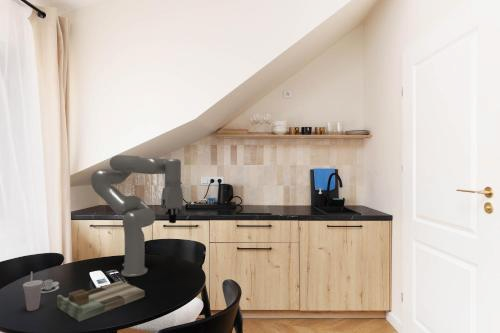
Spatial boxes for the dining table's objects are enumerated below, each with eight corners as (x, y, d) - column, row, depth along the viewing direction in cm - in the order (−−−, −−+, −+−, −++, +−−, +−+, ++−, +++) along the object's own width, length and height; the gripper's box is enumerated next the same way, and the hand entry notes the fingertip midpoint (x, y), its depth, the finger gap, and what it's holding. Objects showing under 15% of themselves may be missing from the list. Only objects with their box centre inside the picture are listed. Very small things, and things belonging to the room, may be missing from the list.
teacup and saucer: (56, 284, 141) (56, 275, 141) (64, 288, 137) (64, 279, 137) (34, 290, 134) (34, 281, 134) (41, 295, 130) (42, 285, 130)
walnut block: (68, 304, 115) (68, 293, 115) (82, 299, 119) (82, 289, 119) (74, 307, 112) (74, 296, 112) (88, 303, 116) (88, 292, 116)
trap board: (57, 307, 118) (57, 295, 118) (120, 286, 139) (120, 276, 139) (79, 321, 107) (79, 308, 107) (144, 296, 128) (144, 285, 128)
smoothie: (29, 305, 120) (29, 269, 120) (46, 304, 120) (47, 268, 120) (18, 312, 113) (18, 274, 113) (36, 312, 114) (37, 274, 114)
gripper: (179, 183, 156) (179, 219, 156) (154, 185, 144) (154, 224, 144) (189, 184, 152) (189, 221, 152) (165, 185, 140) (164, 226, 140)
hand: (172, 222), depth 148 cm, fingers closed
